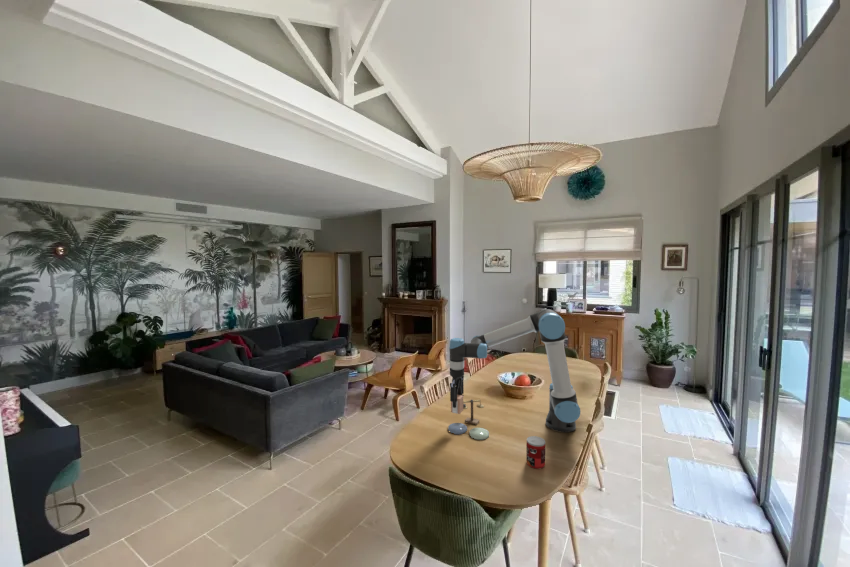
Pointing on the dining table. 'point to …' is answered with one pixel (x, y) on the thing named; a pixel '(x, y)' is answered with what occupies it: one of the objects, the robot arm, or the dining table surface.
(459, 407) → the block
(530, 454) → the canned food
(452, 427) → the saucer slate far
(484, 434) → the saucer sage near
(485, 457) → the dining table surface
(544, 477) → the dining table surface
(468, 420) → the balance
